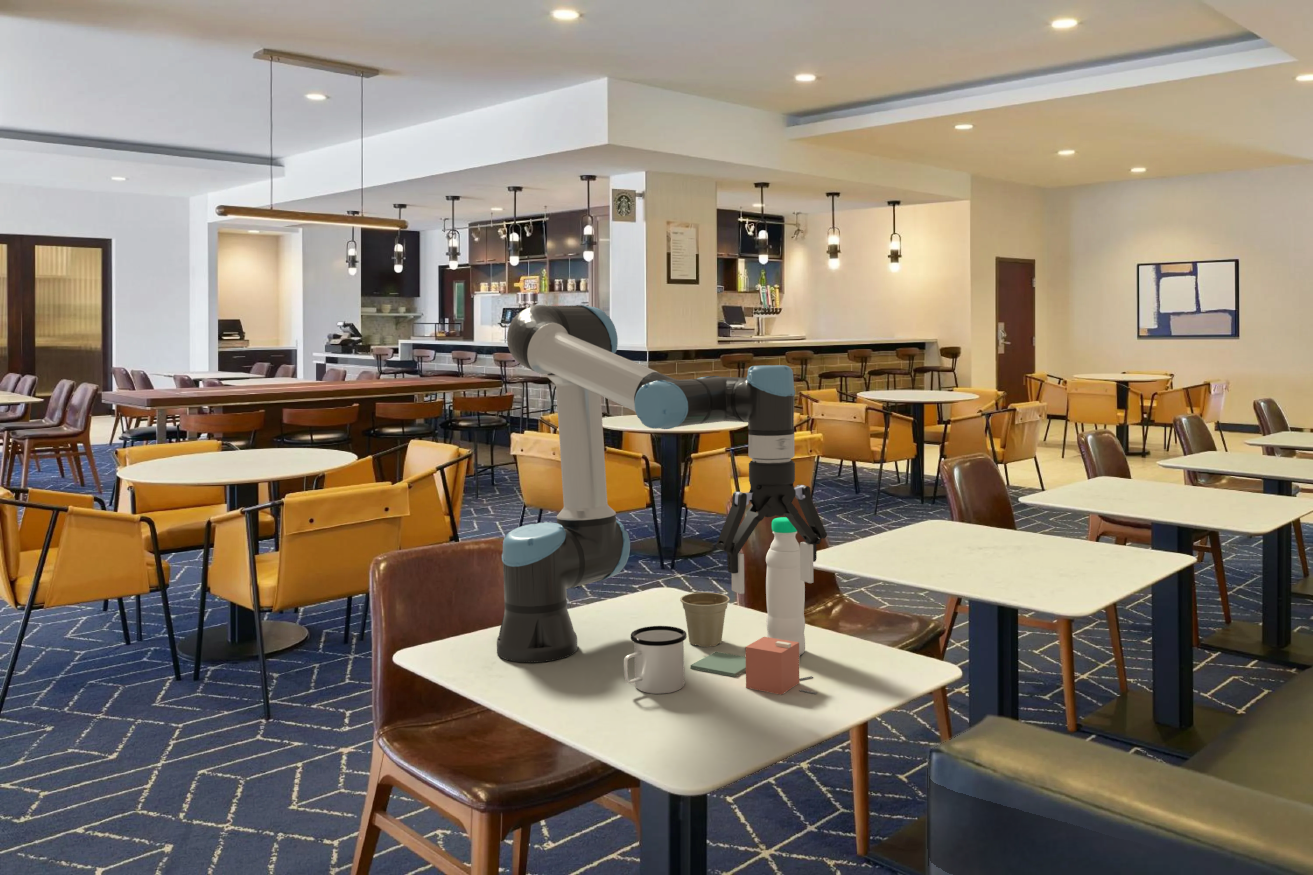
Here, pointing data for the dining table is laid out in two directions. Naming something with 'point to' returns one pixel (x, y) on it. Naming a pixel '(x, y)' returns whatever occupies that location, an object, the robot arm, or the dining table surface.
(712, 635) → the flower pot
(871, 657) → the dining table surface
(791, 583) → the water bottle
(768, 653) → the orange box with tab
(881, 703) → the dining table surface
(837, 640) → the dining table surface
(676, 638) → the mug
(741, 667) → the pad
